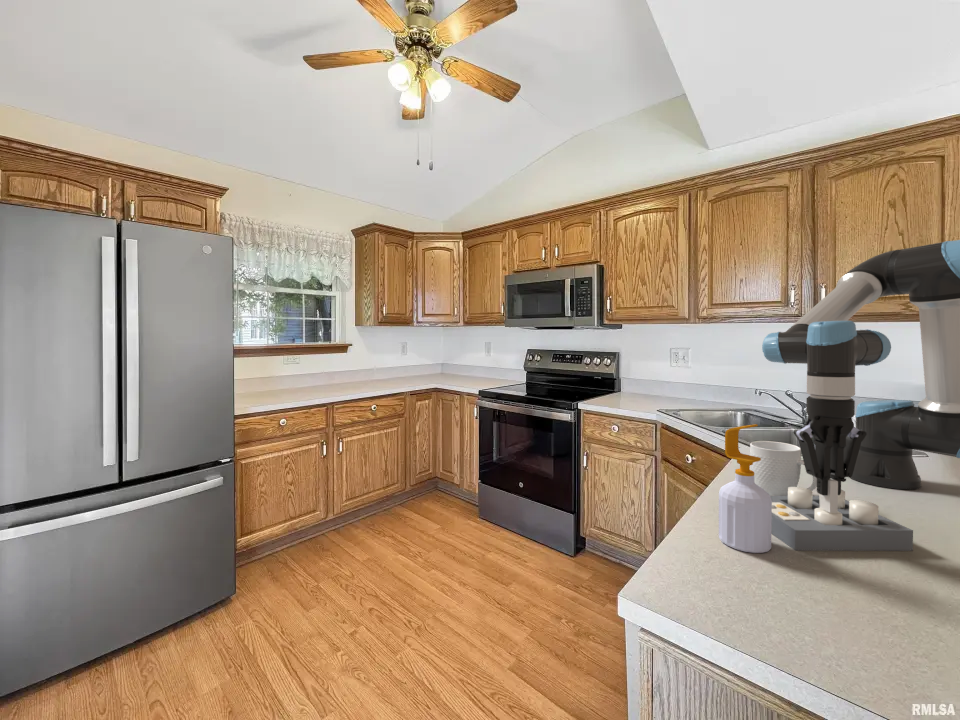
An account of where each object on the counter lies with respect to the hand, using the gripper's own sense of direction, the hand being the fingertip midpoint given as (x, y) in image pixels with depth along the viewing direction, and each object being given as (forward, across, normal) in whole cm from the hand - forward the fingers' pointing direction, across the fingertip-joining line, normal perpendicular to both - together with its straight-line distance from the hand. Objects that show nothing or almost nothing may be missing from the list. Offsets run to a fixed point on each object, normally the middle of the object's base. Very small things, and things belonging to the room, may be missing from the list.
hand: (828, 509), depth 85 cm
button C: (+3, 0, -8) cm, 9 cm away
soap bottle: (+6, +18, +2) cm, 19 cm away
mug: (+6, -6, -24) cm, 25 cm away
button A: (+3, -7, -8) cm, 11 cm away
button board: (+6, -1, -4) cm, 7 cm away
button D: (+5, 0, 0) cm, 5 cm away
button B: (+3, -7, 0) cm, 8 cm away
